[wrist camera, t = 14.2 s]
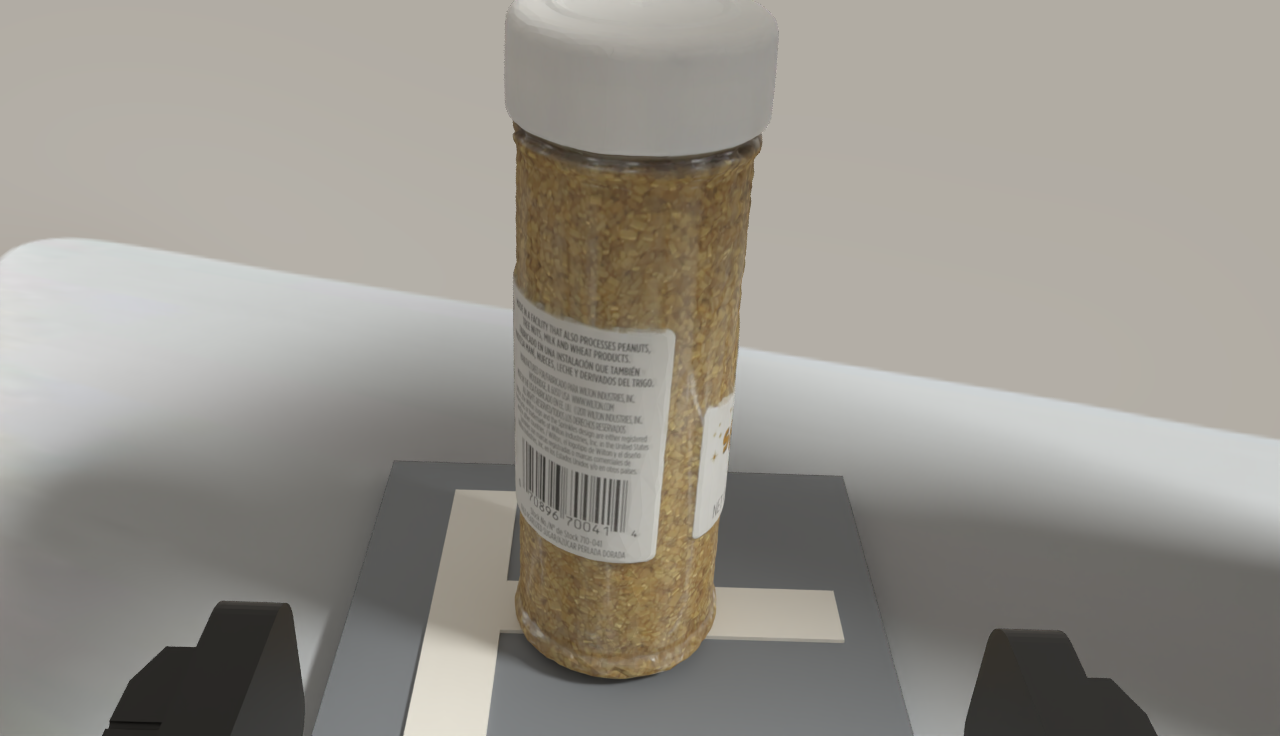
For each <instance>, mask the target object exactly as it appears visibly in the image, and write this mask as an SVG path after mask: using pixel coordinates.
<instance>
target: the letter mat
mask: <svg viewBox="0 0 1280 736" xmlns="http://www.w3.org/2000/svg"><path fill="white" fill-rule="evenodd" d="M520 547H521V546H520V508H519V506H518V503H517V498H516V484H515V465H506V464H478V463H449V462H420V461H394V462H393V466H392V469H391V472H390V476H389V479H388V482H387V486H386V489H385V492H384V496H383V499H382V502H381V506H380V509H379V512H378V516H377V519H376V522H375V526H374V529H373V532H372V536H371V539H370V542H369V546H368V549H367V552H366V556H365V559H364V562H363V566H362V569H361V572H360V576H359V579H358V582H357V586H356V589H355V592H354V596H353V599H352V602H351V606H350V609H349V612H348V616H347V619H346V622H345V626H344V629H343V632H342V636H341V639H340V642H339V645H338V649H337V652H336V655H335V659H334V662H333V665H332V669H331V672H330V675H329V679H328V682H327V685H326V689H325V692H324V695H323V699H322V702H321V705H320V709H319V712H318V715H317V719H316V722H315V725H314V729H313V732H312V735H311V736H914V735H913V731H912V727H911V724H910V720H909V716H908V713H907V709H906V705H905V702H904V698H903V695H902V691H901V687H900V684H899V680H898V676H897V673H896V669H895V665H894V662H893V658H892V655H891V651H890V647H889V644H888V640H887V636H886V633H885V629H884V625H883V622H882V618H881V615H880V611H879V607H878V604H877V600H876V596H875V593H874V589H873V585H872V582H871V578H870V574H869V571H868V567H867V564H866V560H865V556H864V553H863V549H862V545H861V542H860V538H859V534H858V531H857V527H856V524H855V520H854V516H853V513H852V509H851V505H850V502H849V498H848V494H847V491H846V487H845V484H844V480H843V476H824V475H795V474H766V473H737V472H727V480H726V491H725V499H724V505H723V509H722V512H721V514H720V520H719V527H718V542H717V552H716V558H715V569H714V580H713V583H714V586H715V592H716V615H715V619H714V622H713V625H712V628H711V630H710V631H709V633H708V634H707V636H706V638H705V639H704V640H703V641H702V642H701V644H700V646H699V648H698V649H697V650H696V651H695V652H694V653H693V654H692V655H691V656H690V657H689V658H687V659H686V660H684V661H682V662H680V663H679V664H677V665H676V666H674V667H673V668H672V669H670V670H667V671H664V672H660V673H656V674H652V675H646V676H640V677H634V678H627V679H610V678H601V677H594V676H590V675H587V674H584V673H580V672H577V671H573V670H570V669H569V668H566V667H564V666H561V665H559V664H558V663H557V662H555V661H554V660H551V659H549V658H547V657H546V656H545V655H543V654H542V653H540V652H539V651H538V650H537V649H536V648H535V647H534V646H533V645H532V644H531V643H530V642H529V641H528V640H527V638H526V637H525V635H524V633H523V631H522V630H521V627H520V624H519V621H518V620H517V616H516V611H515V594H516V591H517V586H518V582H519V577H520Z"/></svg>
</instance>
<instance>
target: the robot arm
mask: <svg viewBox="0 0 1280 736" xmlns="http://www.w3.org/2000/svg"><path fill="white" fill-rule="evenodd" d="M304 715H305V703H304V692H303V685H302V677H301V670H300V663H299V656H298V649H297V641H296V634H295V627H294V620H293V614H292V610H291V607H290V605H289V604H288V603H273V602H242V601H221V602H219V603H218V604H217V605H216V606H215V608H214V609H213V611H212V613H211V616H210V618H209V620H208V622H207V624H206V627H205V629H204V631H203V633H202V635H201V638H200V640H199V642H198V644H197V646H196V647H169V646H166V647H165V648H164V649H163V650H162V651H161V652H160V653H159V654H158V655H157V656H156V657H155V658H154V659H152V660H151V661H150V662H149V663H148V664H147V665H146V666H145V667H144V668H143V669H142V670H141V671H140V672H139V673H138V674H136V675H135V676H134V677H133V678H132V679H131V680H130V681H129V683H128V685H127V687H126V689H125V691H124V693H123V695H122V697H121V699H120V701H119V703H118V705H117V707H116V709H115V711H114V713H113V715H112V717H111V719H110V725H109V728H108V729H105V731H104V733H103V735H102V736H302V735H303V727H304ZM964 736H1157V734H1156V732H1155V730H1154V728H1153V726H1152V724H1151V722H1150V720H1149V718H1148V716H1147V714H1146V713H1145V712H1144V711H1143V710H1142V709H1141V708H1140V707H1139V706H1138V705H1137V704H1136V703H1135V702H1134V701H1133V700H1132V699H1131V698H1130V697H1129V696H1128V695H1127V694H1126V693H1125V692H1124V691H1123V690H1122V689H1121V688H1120V687H1119V686H1118V685H1117V684H1116V683H1115V682H1114V681H1113V680H1112V679H1110V678H1087V676H1086V674H1085V672H1084V669H1083V667H1082V665H1081V663H1080V661H1079V659H1078V657H1077V654H1076V652H1075V650H1074V648H1073V646H1072V644H1071V642H1070V640H1069V638H1068V637H1067V636H1066V634H1065V633H1063V632H1062V631H1058V630H1027V629H995V630H993V632H992V633H991V635H990V636H989V639H988V642H987V645H986V649H985V653H984V656H983V660H982V663H981V667H980V671H979V674H978V678H977V681H976V685H975V689H974V692H973V696H972V699H971V703H970V706H969V710H968V714H967V717H966V722H965V729H964Z"/></svg>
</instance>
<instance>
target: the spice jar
mask: <svg viewBox="0 0 1280 736" xmlns="http://www.w3.org/2000/svg"><path fill="white" fill-rule="evenodd" d="M778 34H779V31H778V26H777V22H776V19H775V18H774V16H773V15H772V14H771V13H770V11H768V10H767V9H766V8H765V7H764V6H762V5H761V4H759V3H757V2H755V1H753V0H515V1H514V2H513V3H512V4H511V5H510V7H509V9H508V11H507V15H506V21H505V67H504V68H505V74H504V76H505V77H504V78H505V105H506V109H507V112H508V114H509V116H510V117H511V118H512V120H513V127H514V130H515V133H514V134H513V139H514V142H515V143H516V147H517V156H516V163H517V166H516V209H517V210H516V243H517V246H516V258H517V263H516V266H515V269H514V272H513V334H514V414H515V484H516V498H517V503H518V506H519V508H520V546H521V547H520V577H519V582H518V586H517V591H516V594H515V611H516V616H517V620H518V621H519V624H520V627H521V630H522V631H523V633H524V635H525V637H526V638H527V640H528V641H529V642H530V643H531V644H532V645H533V646H534V647H535V648H536V649H537V650H538V651H539V652H540V653H542V654H543V655H545V656H546V657H547V658H549V659H551V660H554V661H555V662H557V663H558V664H559V665H561V666H564V667H566V668H569V669H570V670H573V671H577V672H580V673H584V674H587V675H590V676H594V677H601V678H610V679H627V678H634V677H640V676H646V675H652V674H656V673H660V672H664V671H667V670H670V669H672V668H673V667H674V666H676V665H677V664H679V663H680V662H682V661H684V660H686V659H687V658H689V657H690V656H691V655H692V654H693V653H694V652H695V651H696V650H697V649H698V648H699V646H700V644H701V642H702V641H703V640H704V639H705V638H706V636H707V634H708V633H709V631H710V630H711V628H712V625H713V622H714V619H715V615H716V592H715V586H714V583H713V580H714V569H715V558H716V552H717V542H718V527H719V520H720V514H721V512H722V509H723V505H724V499H725V491H726V480H727V470H728V460H729V450H730V440H731V429H732V417H733V408H734V399H735V378H736V367H737V359H738V348H739V328H740V318H739V309H740V300H741V283H742V277H743V273H744V268H745V255H746V245H747V229H748V224H749V212H750V206H751V197H750V195H751V189H752V180H753V176H754V159H755V157H756V156H757V155H758V153H760V150H761V147H762V132H763V131H764V130H765V129H766V128H767V126H768V124H769V123H770V120H771V114H772V106H773V97H774V88H775V78H776V65H777V51H778Z"/></svg>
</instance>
